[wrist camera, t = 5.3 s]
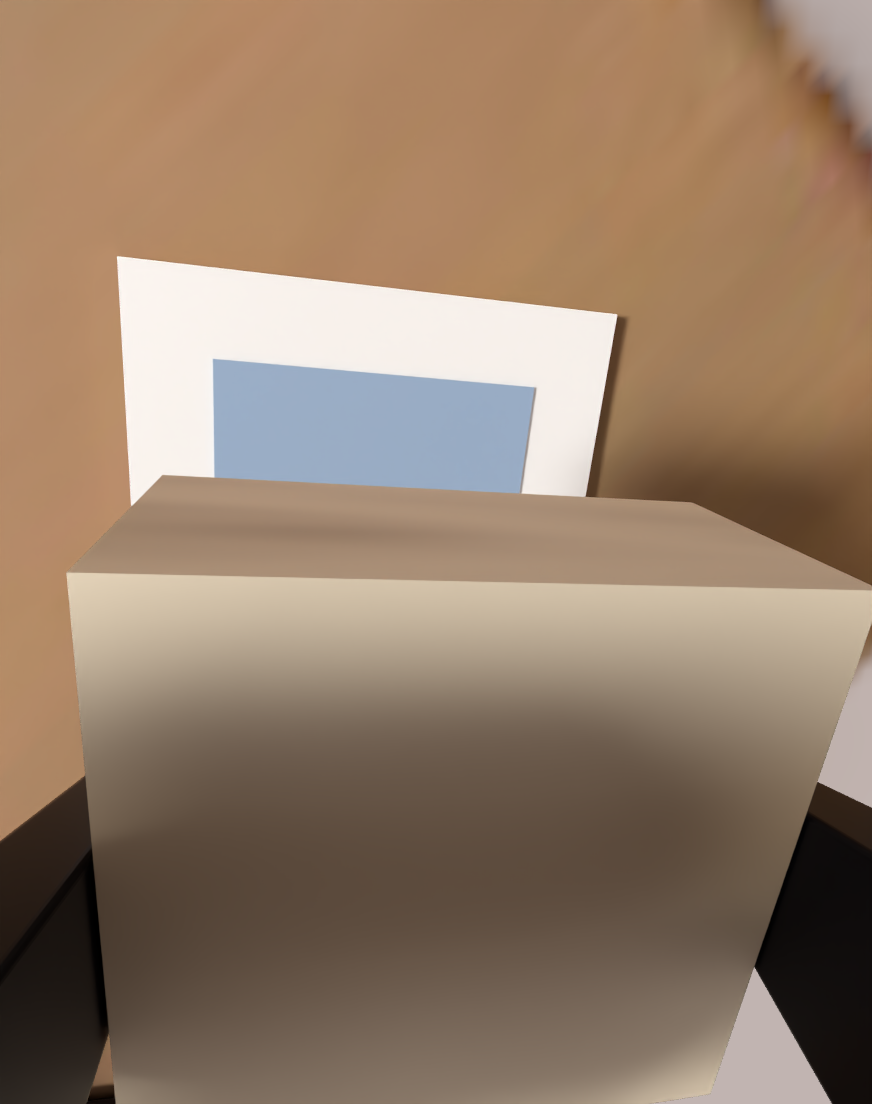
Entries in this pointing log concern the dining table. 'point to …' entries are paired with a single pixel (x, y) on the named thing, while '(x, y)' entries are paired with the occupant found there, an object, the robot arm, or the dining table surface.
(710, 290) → the dining table surface
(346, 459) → the board
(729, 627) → the maple block
